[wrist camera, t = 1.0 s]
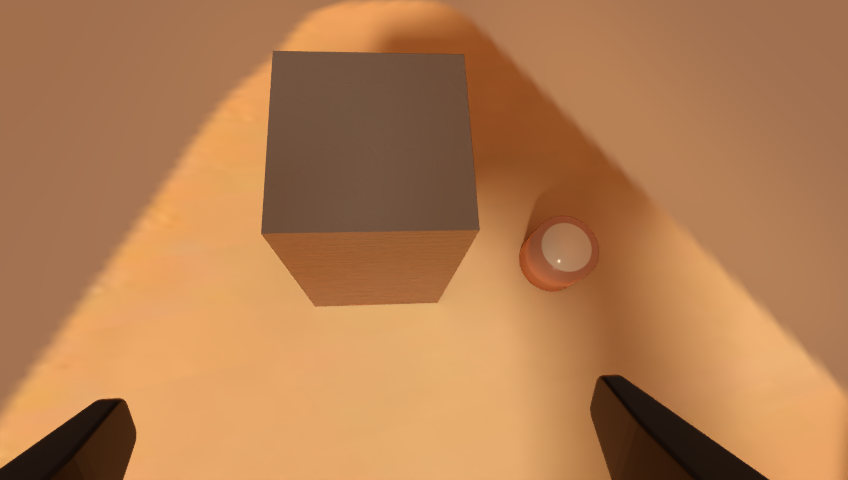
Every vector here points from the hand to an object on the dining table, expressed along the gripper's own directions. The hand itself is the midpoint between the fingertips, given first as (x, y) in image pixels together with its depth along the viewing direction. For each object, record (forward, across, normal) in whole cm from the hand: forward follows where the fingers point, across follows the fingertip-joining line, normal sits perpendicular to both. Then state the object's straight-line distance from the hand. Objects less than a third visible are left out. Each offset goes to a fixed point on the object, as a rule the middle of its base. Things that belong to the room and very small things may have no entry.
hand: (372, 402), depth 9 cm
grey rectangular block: (+15, 0, +4) cm, 15 cm away
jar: (+14, -9, +5) cm, 17 cm away
